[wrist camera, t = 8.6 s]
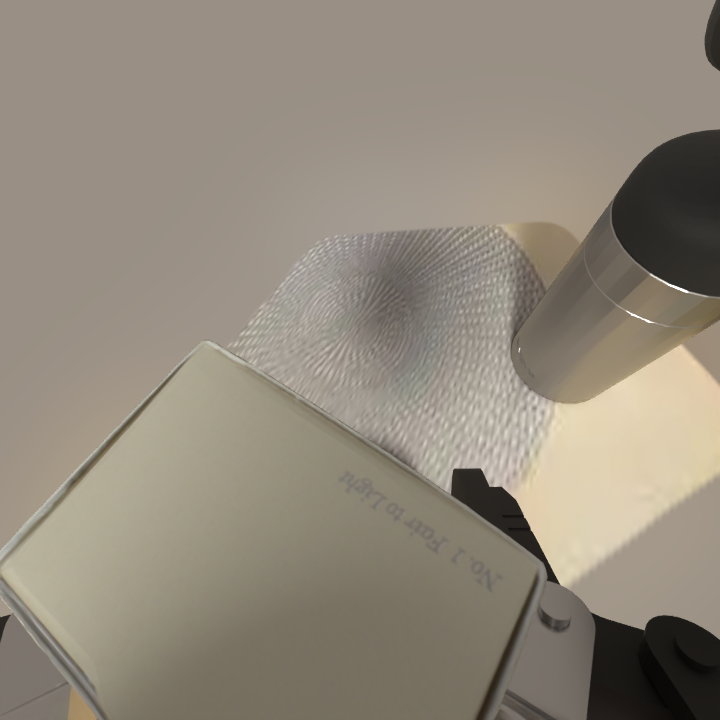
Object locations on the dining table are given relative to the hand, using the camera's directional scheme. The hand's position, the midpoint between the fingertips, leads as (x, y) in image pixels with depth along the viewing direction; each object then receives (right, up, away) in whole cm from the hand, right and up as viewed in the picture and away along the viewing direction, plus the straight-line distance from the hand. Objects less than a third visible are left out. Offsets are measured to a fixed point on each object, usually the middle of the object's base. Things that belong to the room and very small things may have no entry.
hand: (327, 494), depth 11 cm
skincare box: (0, -4, +5) cm, 6 cm away
